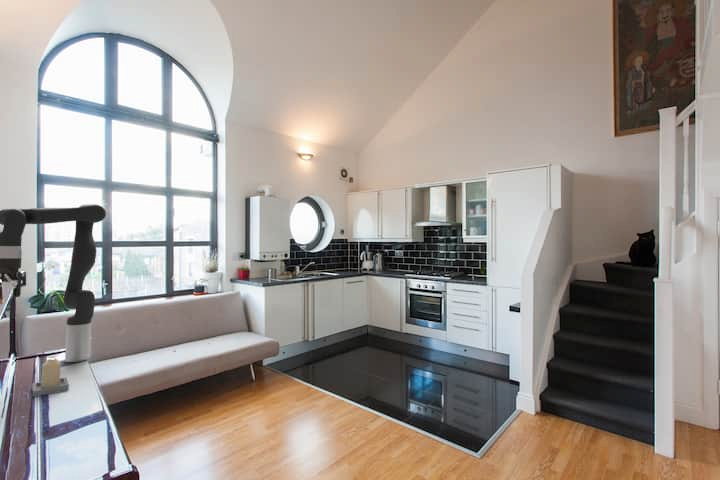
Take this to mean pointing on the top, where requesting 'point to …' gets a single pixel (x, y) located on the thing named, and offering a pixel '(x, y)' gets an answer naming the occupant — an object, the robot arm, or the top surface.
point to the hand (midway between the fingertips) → (6, 296)
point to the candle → (50, 373)
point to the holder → (50, 388)
